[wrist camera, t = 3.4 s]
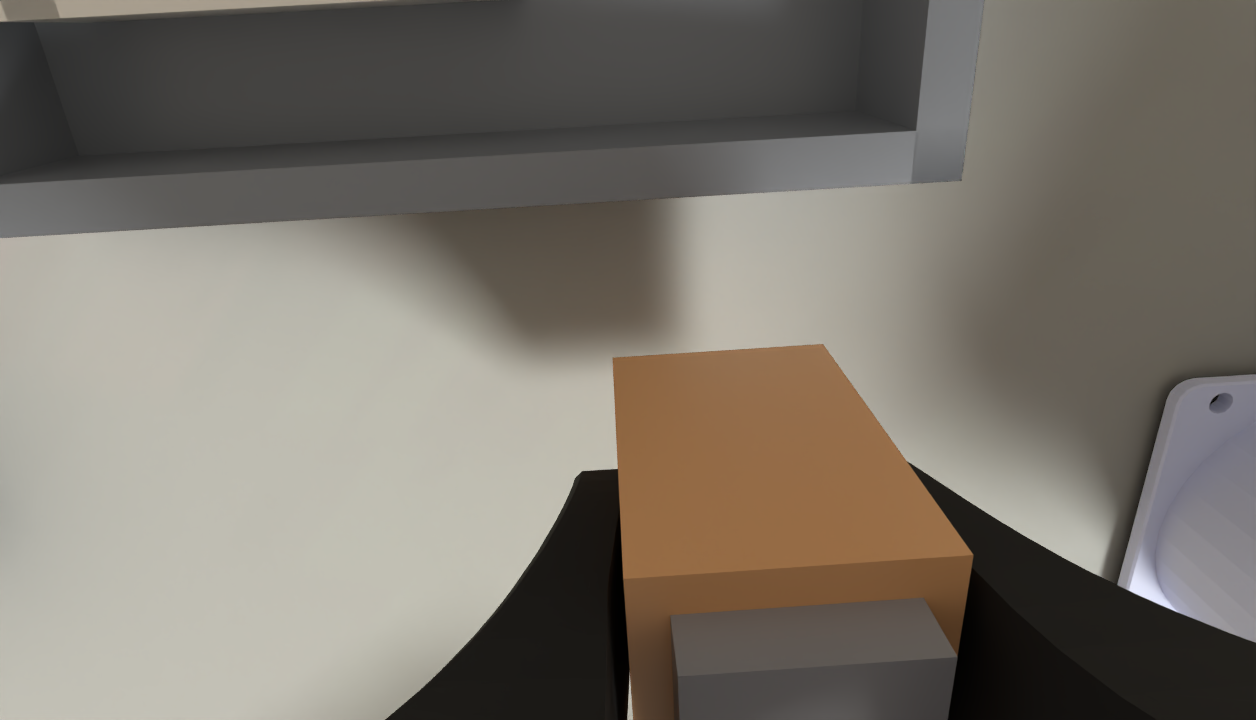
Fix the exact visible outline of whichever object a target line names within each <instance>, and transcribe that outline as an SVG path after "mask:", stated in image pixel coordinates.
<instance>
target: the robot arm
mask: <svg viewBox="0 0 1256 720" xmlns="http://www.w3.org/2000/svg"><path fill="white" fill-rule="evenodd" d="M1218 394H1220V395H1219V397H1218V398H1217V400H1216V401H1215V402H1213V403H1212V404H1210V402H1211V401H1212V399H1213V398H1214V397H1215V396H1217V395H1218ZM1209 404H1210V405H1209ZM908 464H909V465H910V467H911V468H912V469H913V471H914V472H915V474H916V475H917V476H918V478H919V479H920V481H921V482H922V483H923V485H924V486H925V488H926V489H927V491H928V492H929V493H930V495H931V496H932V498H933V499H934V500H935V502H936V503H937V505H938V506H939V507H940V509H941V510H942V512H943V513H944V514H945V516H946V517H947V519H948V520H949V521H950V523H951V524H952V526H953V527H954V528H955V530H956V531H957V533H958V534H959V535H960V537H961V538H962V540H963V541H964V542H965V544H966V545H967V547H968V548H969V549H970V551H971V552H972V554H973V562H972V568H971V574H970V580H969V587H968V593H967V599H966V605H965V612H964V618H963V624H962V630H961V637H960V643H959V649H958V655H957V657H958V658H957V664H956V670H955V676H954V683H953V689H952V695H951V701H950V708H949V714H948V720H1256V374H1251V375H1235V376H1220V377H1204V378H1192V379H1188V380H1185V381H1183V382H1181V383H1179V384H1178V385H1176V386H1175V387H1174V388H1173V389H1172V391H1171V392H1170V394H1169V396H1168V398H1167V400H1166V404H1165V408H1164V412H1163V415H1162V419H1161V423H1160V427H1159V430H1158V434H1157V438H1156V442H1155V445H1154V449H1153V453H1152V457H1151V460H1150V464H1149V468H1148V472H1147V475H1146V479H1145V483H1144V487H1143V490H1142V494H1141V498H1140V502H1139V505H1138V509H1137V513H1136V517H1135V520H1134V524H1133V528H1132V532H1131V535H1130V539H1129V543H1128V547H1127V550H1126V554H1125V558H1124V562H1123V565H1122V569H1121V573H1120V577H1119V580H1118V584H1117V585H1116V584H1114V583H1112V582H1110V581H1108V580H1106V579H1104V578H1102V577H1099V576H1097V575H1095V574H1093V573H1091V572H1089V571H1087V570H1085V569H1083V568H1081V567H1079V566H1077V565H1076V564H1074V563H1072V562H1070V561H1068V560H1066V559H1064V558H1062V557H1061V556H1059V555H1057V554H1055V553H1053V552H1052V551H1050V550H1048V549H1046V548H1045V547H1043V546H1041V545H1039V544H1038V543H1036V542H1034V541H1032V540H1030V539H1029V538H1027V537H1025V536H1023V535H1022V534H1020V533H1018V532H1017V531H1015V530H1013V529H1012V528H1010V527H1008V526H1007V525H1005V524H1003V523H1002V522H1000V521H999V520H997V519H995V518H994V517H992V516H991V515H989V514H987V513H986V512H984V511H983V510H981V509H979V508H978V507H976V506H975V505H973V504H972V503H970V502H969V501H967V500H965V499H964V498H962V497H961V496H959V495H958V494H956V493H955V492H953V491H952V490H950V489H949V488H947V487H946V486H944V485H943V484H941V483H940V482H938V481H936V480H935V479H933V478H932V477H930V476H929V475H927V474H926V473H924V472H923V471H921V470H920V469H918V468H917V467H915V466H914V465H912V464H910V463H909V462H908ZM629 674H630V666H629V652H628V638H627V624H626V610H625V596H624V581H623V562H622V541H621V521H620V500H619V479H618V469H611V470H595V471H582V472H581V473H580V474H579V475H578V476H577V477H576V478H575V480H574V483H573V486H572V489H571V491H570V493H569V496H568V498H567V500H566V502H565V504H564V506H563V508H562V510H561V512H560V514H559V516H558V518H557V520H556V522H555V523H554V525H553V527H552V529H551V530H550V532H549V534H548V535H547V537H546V539H545V540H544V542H543V544H542V545H541V547H540V549H539V551H538V552H537V554H536V555H535V557H534V558H533V560H532V561H531V563H530V564H529V566H528V567H527V568H526V570H525V571H524V573H523V574H522V576H521V577H520V579H519V580H518V581H517V583H516V584H515V586H514V587H513V589H512V590H511V591H510V593H509V594H508V595H507V597H506V598H505V599H504V601H503V602H502V603H501V604H500V606H499V607H498V608H497V609H496V611H495V612H494V613H493V614H492V616H491V617H490V618H489V619H488V620H487V622H486V623H485V624H484V625H483V626H482V627H481V628H480V630H479V631H478V632H477V633H476V634H475V635H474V637H473V638H472V639H471V640H470V641H469V642H468V643H467V644H466V645H465V646H464V647H463V648H462V649H461V650H460V651H459V652H458V653H457V654H456V655H455V657H454V658H453V659H452V660H451V661H450V662H449V663H448V664H447V665H446V666H445V667H444V668H443V669H442V670H441V671H440V672H439V673H438V674H437V675H436V676H435V677H434V678H433V679H432V680H431V681H429V682H428V683H427V684H426V685H425V686H424V687H423V688H422V689H421V690H420V691H419V692H417V693H416V694H415V695H414V696H413V697H412V698H410V699H409V700H408V701H407V702H406V703H405V704H403V705H402V706H401V707H400V708H399V709H397V710H396V711H395V712H394V713H393V714H392V715H390V716H389V717H388V718H387V719H385V720H627V713H628V694H629Z"/></svg>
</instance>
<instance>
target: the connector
mask: <svg viewBox="0 0 1256 720" xmlns="http://www.w3.org/2000/svg"><path fill="white" fill-rule="evenodd" d="M613 376H614V397H615V417H616V438H617V459H618V479H619V500H620V521H621V541H622V562H623V581H624V596H625V610H626V624H627V638H628V652H629V666H630V680H631V695H632V709H633V720H948V714H949V708H950V701H951V695H952V689H953V683H954V676H955V670H956V664H957V658H958V657H957V655H958V649H959V643H960V637H961V630H962V624H963V618H964V612H965V605H966V599H967V593H968V587H969V580H970V574H971V568H972V562H973V554H972V552H971V551H970V549H969V548H968V547H967V545H966V544H965V542H964V541H963V540H962V538H961V537H960V535H959V534H958V533H957V531H956V530H955V528H954V527H953V526H952V524H951V523H950V521H949V520H948V519H947V517H946V516H945V514H944V513H943V512H942V510H941V509H940V507H939V506H938V505H937V503H936V502H935V500H934V499H933V498H932V496H931V495H930V493H929V492H928V491H927V489H926V488H925V486H924V485H923V483H922V482H921V481H920V479H919V478H918V476H917V475H916V474H915V472H914V471H913V469H912V468H911V467H910V465H909V464H908V462H907V461H906V460H905V458H904V457H903V455H902V454H901V453H900V451H899V450H898V448H897V447H896V446H895V444H894V443H893V441H892V440H891V439H890V437H889V436H888V434H887V433H886V432H885V430H884V429H883V427H882V426H881V425H880V423H879V422H878V420H877V419H876V418H875V416H874V415H873V413H872V412H871V411H870V409H869V408H868V406H867V405H866V404H865V402H864V401H863V399H862V398H861V397H860V395H859V394H858V392H857V391H856V390H855V388H854V387H853V385H852V384H851V383H850V381H849V380H848V378H847V377H846V376H845V374H844V373H843V371H842V370H841V369H840V367H839V366H838V364H837V363H836V362H835V360H834V359H833V357H832V356H831V355H830V353H829V352H828V350H827V349H826V348H825V346H824V345H823V344H817V345H802V346H786V347H771V348H755V349H740V350H725V351H709V352H694V353H678V354H663V355H647V356H632V357H616V358H613Z"/></svg>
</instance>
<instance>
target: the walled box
mask: <svg viewBox="0 0 1256 720" xmlns="http://www.w3.org/2000/svg"><path fill="white" fill-rule="evenodd" d="M983 7H984V0H0V238H11V237H27V236H44V235H61V234H78V233H94V232H111V231H128V230H145V229H161V228H178V227H195V226H212V225H228V224H245V223H262V222H278V221H295V220H312V219H329V218H345V217H362V216H379V215H396V214H412V213H429V212H446V211H463V210H479V209H496V208H513V207H530V206H546V205H563V204H580V203H596V202H613V201H630V200H647V199H663V198H680V197H697V196H714V195H730V194H747V193H764V192H781V191H797V190H814V189H831V188H848V187H864V186H881V185H898V184H914V183H931V182H948V181H961V180H962V172H963V164H964V157H965V149H966V141H967V133H968V125H969V117H970V109H971V101H972V93H973V86H974V78H975V70H976V62H977V54H978V46H979V38H980V30H981V23H982V15H983Z"/></svg>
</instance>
